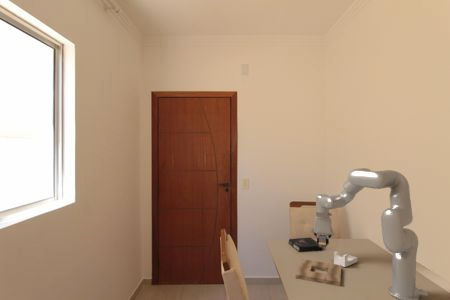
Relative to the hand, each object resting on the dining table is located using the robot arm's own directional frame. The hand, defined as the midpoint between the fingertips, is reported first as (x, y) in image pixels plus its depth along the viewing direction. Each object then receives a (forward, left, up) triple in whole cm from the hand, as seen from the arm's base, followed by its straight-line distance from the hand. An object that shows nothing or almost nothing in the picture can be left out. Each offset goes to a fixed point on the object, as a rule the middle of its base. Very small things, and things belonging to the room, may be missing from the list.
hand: (322, 244), depth 175 cm
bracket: (-13, -2, -11) cm, 17 cm away
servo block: (0, 0, -1) cm, 1 cm away
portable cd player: (+13, -20, -11) cm, 27 cm away
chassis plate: (0, +18, -10) cm, 21 cm away
